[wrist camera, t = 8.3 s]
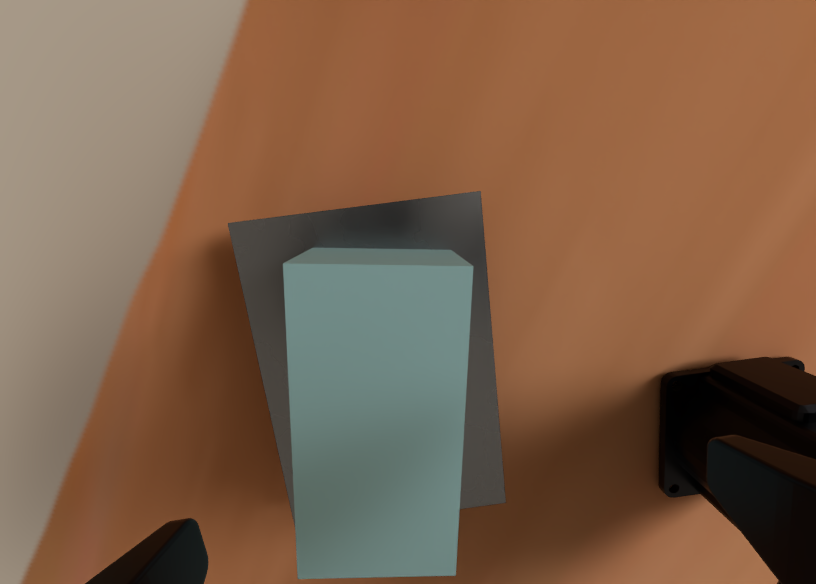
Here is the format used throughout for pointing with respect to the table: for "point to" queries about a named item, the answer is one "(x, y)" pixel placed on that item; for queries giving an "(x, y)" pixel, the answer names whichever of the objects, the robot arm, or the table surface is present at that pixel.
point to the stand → (376, 229)
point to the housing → (377, 408)
